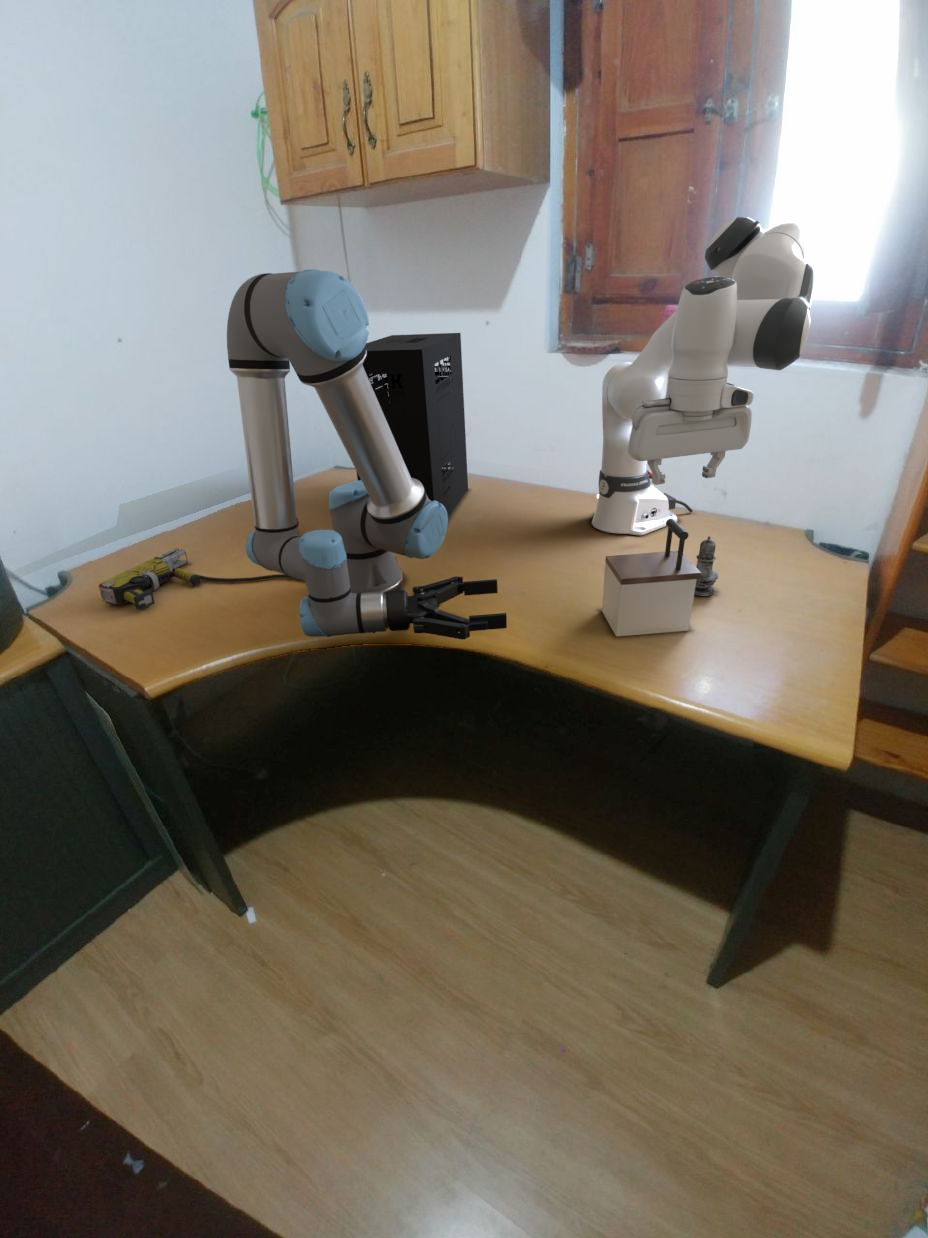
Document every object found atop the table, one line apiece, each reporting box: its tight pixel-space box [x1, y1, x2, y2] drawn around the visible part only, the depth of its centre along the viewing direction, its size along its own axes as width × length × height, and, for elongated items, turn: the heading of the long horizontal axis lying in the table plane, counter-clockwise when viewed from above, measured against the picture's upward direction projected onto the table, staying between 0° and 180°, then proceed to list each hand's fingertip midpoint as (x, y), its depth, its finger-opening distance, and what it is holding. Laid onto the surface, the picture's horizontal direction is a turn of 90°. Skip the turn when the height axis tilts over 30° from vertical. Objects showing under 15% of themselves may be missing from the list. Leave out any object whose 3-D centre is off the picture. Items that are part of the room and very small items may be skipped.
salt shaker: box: [694, 536, 719, 597], centre depth 122 cm, size 6×6×12 cm
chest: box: [601, 562, 697, 637], centre depth 114 cm, size 14×10×11 cm
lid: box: [604, 519, 701, 585], centre depth 109 cm, size 14×10×8 cm
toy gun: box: [98, 547, 202, 611], centre depth 139 cm, size 5×24×15 cm
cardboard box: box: [355, 332, 469, 518], centre depth 166 cm, size 38×20×45 cm, turn 167°
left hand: (501, 602), depth 112 cm, fingers open, 13 cm apart
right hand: (683, 480), depth 103 cm, fingers open, 8 cm apart
